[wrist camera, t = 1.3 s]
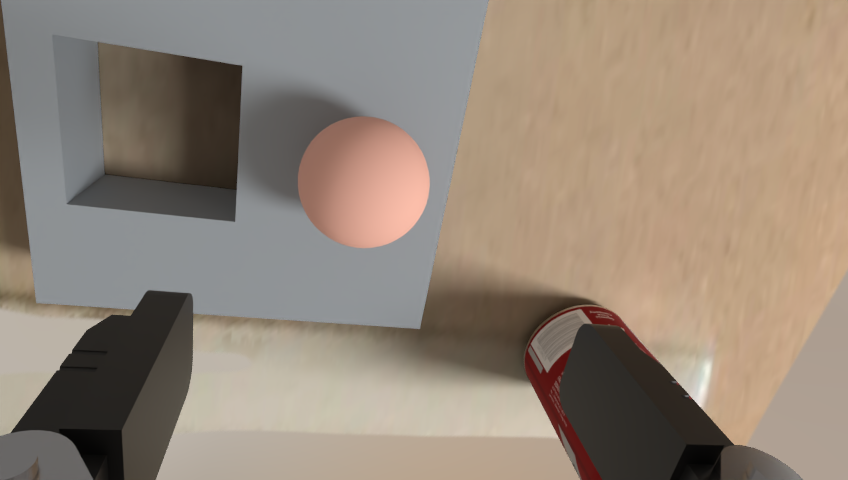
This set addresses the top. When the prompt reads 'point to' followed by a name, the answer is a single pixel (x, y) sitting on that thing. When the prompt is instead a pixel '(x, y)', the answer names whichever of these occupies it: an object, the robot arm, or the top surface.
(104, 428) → the robot arm
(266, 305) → the grey block with recess
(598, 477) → the soda can
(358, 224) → the ball
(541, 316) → the top surface
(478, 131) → the top surface
